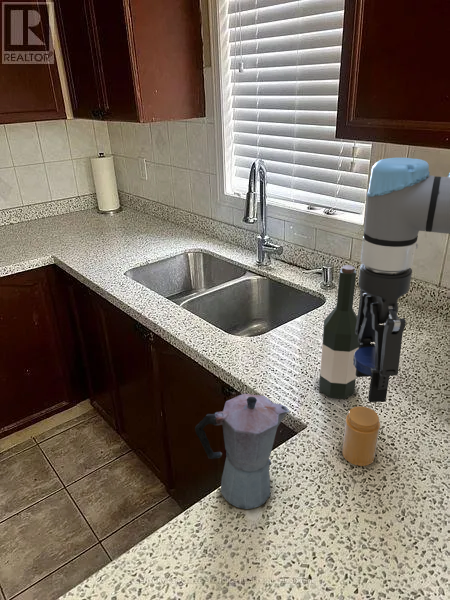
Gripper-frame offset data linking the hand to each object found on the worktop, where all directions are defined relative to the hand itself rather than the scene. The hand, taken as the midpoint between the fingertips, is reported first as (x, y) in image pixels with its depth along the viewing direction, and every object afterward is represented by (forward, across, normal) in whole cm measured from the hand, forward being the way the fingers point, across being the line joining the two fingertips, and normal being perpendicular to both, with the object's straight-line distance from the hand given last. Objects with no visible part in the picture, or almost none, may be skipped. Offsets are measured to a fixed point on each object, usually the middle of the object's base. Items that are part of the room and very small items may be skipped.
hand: (369, 387), depth 78 cm
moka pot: (+16, -7, +23) cm, 29 cm away
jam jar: (+16, 0, +1) cm, 16 cm away
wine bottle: (+16, +20, 0) cm, 25 cm away
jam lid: (-6, 0, 0) cm, 6 cm away
